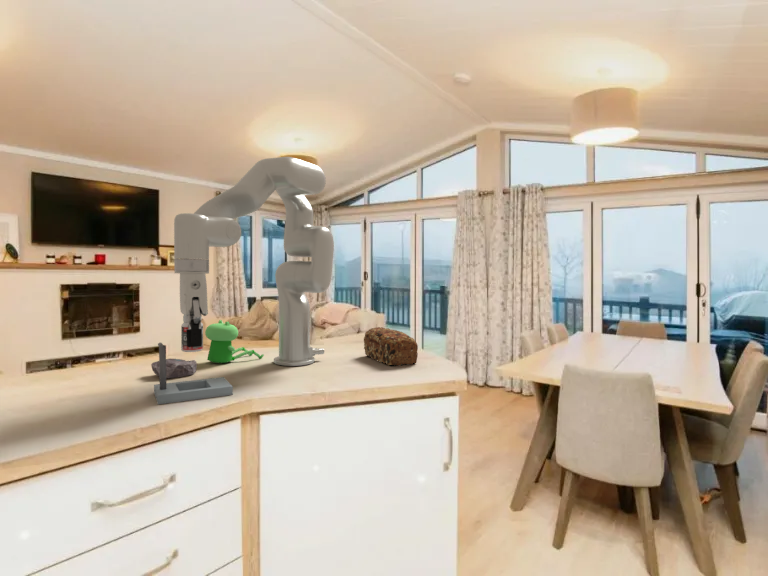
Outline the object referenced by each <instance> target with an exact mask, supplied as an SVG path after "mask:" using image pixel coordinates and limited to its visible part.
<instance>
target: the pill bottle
mask: <svg viewBox="0 0 768 576" xmlns="http://www.w3.org/2000/svg"><path fill="white" fill-rule="evenodd" d="M182 315H183V316H182V317H183V318H182V321H183V323H182V324H181V330H180V331H181V336H180V337H181V347H180V348H181V351H182V352H184V353H196V352H200V351H202V350H204V324H203V322H201V329H202V345H201V346H197V347H187V329H188V318H187V316H185V315H184V314H182ZM190 316H193V314H190ZM202 316H203V315H202V314H201V321H202V319H203V318H202ZM191 320H192V319H191Z"/></svg>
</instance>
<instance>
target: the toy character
mask: <svg viewBox="0 0 768 576" xmlns="http://www.w3.org/2000/svg"><path fill="white" fill-rule="evenodd" d="M238 329H239V328H238V327H237V326H235V325H234V324H231V323H230V321H225V322H223V320H221V319H219V320H218V323H212V324H209V325H208V326H207V327H206V329H205V333H204V335H205V336H206V338H207V339H208V340H210V345H209V350H208V355H207V359H206V361H209V362H211V363H213V364H214V363H215V364H226V363H230V362H232V361H235V360H237V359H239V358H241V357H243V356H246V355H248V356H250V357H251V356H253V354H254V356H256V357H257V358H258V359H259V360H262V359H263V357H264V356H265V355H264V354H259V353H258V352H256V351H255V350H254V349H250V350H248V349H246V348H245V347H244V346H241V347H238V348H236V349H235V347H234V346H233V343H232V341H235V340H236V339H237V338H238V336H239V330H238ZM238 352H240V353H239V354H236V353H238ZM234 354H236V355H234ZM233 355H234V356H233Z"/></svg>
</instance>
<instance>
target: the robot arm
mask: <svg viewBox="0 0 768 576" xmlns="http://www.w3.org/2000/svg"><path fill="white" fill-rule="evenodd" d="M326 182H327V180H326V174H325V172H324V170H322V168H321V167H320V166H318V165H317V164H314V163H311V162H309V161H305V160H304V159H303V160H302V159H300V158H296V157H293V156H280V157H268V158H264V159H261V160H258V161H257V162H256V163H255V164H254V165H253V166H252V167H251V168H250V169H249V170H248V171H247V172H246V173H245V174H244V175H243V177H242V178H241V179H240V180H239V181H237V183H236V184H234V185H233V186H232V187H230V188H228V189H226V190H224V191H223V192H221V193H220V194H218V195H216V196H214V197H212V198H211V199H209V200H207V201H206V202H204V203H203V204H202V205H201V206H200V207H199V208H197V210H195V211H194V213H191V212H189V213H188V212H187V213H178V214H176V215H175V217H174V221H173V222H174V223H173V225H174V226H173V231H174V232H173V233H174V234H173V236H174V237H173V238H174V239H173V243H174V244H173V245H174V247H173V248H174V249H173V250H174V251H173V252H174V255H173V256H174V261H173V262H174V274H179V306H180V307H179V308H180V309H179V310H180V313H181V314H182V315H185V316H187V318H188V329H187V347H197V346H201V345H202V329H201V323H202V320H201V315H202V316H203V317H206V316H208V314H209V306H208V287H207V286H208V285H207V277H206V276H207V275H206V274H210V247H214V248H223V247H224V248H225V247H227V248H228V247H231V246H234V245H235V244H237V243H238V242H239V241H240V239H241V237H242V228H241V226H240V223H239V222H238V221H237V220H236V219H237V218H241V217H243V216H248V215H250V214H252V213H254V212H256V211H258V210H259V209H260V208H261V207H262V206H263V205H264V204H265V203H266V201H267V200H268V199H269V197H271V195H272V194H274V192H276V193H277V194H278V196H279V197H280V199H281V201H282V203H283V204H284V205H283V206H284V208H285V224H284V233H283V234H284V235H283V250H284V252H285V253H286V255H287V256H291V257H295V258H296V257H298V258H311V261H310V260H308V261H306V260H288V261H285V262H283V263H281V264H280V265H278V267H277V268H276V271H275V274H274V276H275V277H274V278H275V284H276V289H277V295H278V296H277V297H278V356H276V357H274V358H273V363H274V364H275V365H279V366H283V367H299V366H307V365H311V364H313V363H315V356H316V355H324V354H325V349H324V347H320V348H318V347H312V346H310V345H311V343H310V342H311V341H310V340H311V337H310V335H311V332H310V331H311V330H310V329H311V327H310V325H311V322H310V320H311V319H310V318H311V317H310V316H311V314H310V313H311V305H310V302H309V300H308V297H307V295H306V293H311V294H316V293H318V294H321V293H325V292H326V291H327V290H329V287H330V285H331V280H332V275H333V274H332V273H333V260H334V251H335V249H334V247H335V242H334V236H333V234H332V232H331V230H330V229H329V228H327V227H326V226H323V225H314V210H313V207H312V205H311V203H310V201H309V200H308V199H307V197H306V196H311V195H312V196H313V195H318V194H320V193H322V192H323V191H324V189H325V187H326ZM190 314H193V316H190ZM191 319H192V320H191Z"/></svg>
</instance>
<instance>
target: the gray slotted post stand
mask: <svg viewBox="0 0 768 576" xmlns="http://www.w3.org/2000/svg"><path fill="white" fill-rule="evenodd" d="M157 346H158V361H159V376H158V377H159V384H157V383H156V384H153V394H154V396H155V399H156V402H157V405H164V404H171V403H172V404H173V403H178V402H179V403H180V402H186V401H194V400H203V399H210V398H216V397H217V398H218V397H225V396H231V395H233V394H234V393H233V389H234V387H233V385H232V384H231V383H230V382H229V381H228V380H227V379H226V377H224V376H219V377H212V378H210V377H209V378H201V379H193V380H192V379H191V380H185V381H184V380H183V381H174V382H167V378H166V359H167V345H164V344H163V342H159V343H157Z"/></svg>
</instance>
